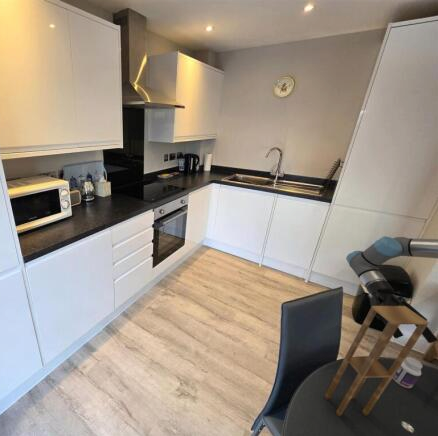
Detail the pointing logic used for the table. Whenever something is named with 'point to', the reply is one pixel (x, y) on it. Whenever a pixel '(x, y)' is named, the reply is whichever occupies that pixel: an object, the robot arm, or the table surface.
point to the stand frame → (371, 363)
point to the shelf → (399, 315)
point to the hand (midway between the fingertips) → (416, 339)
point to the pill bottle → (408, 372)
